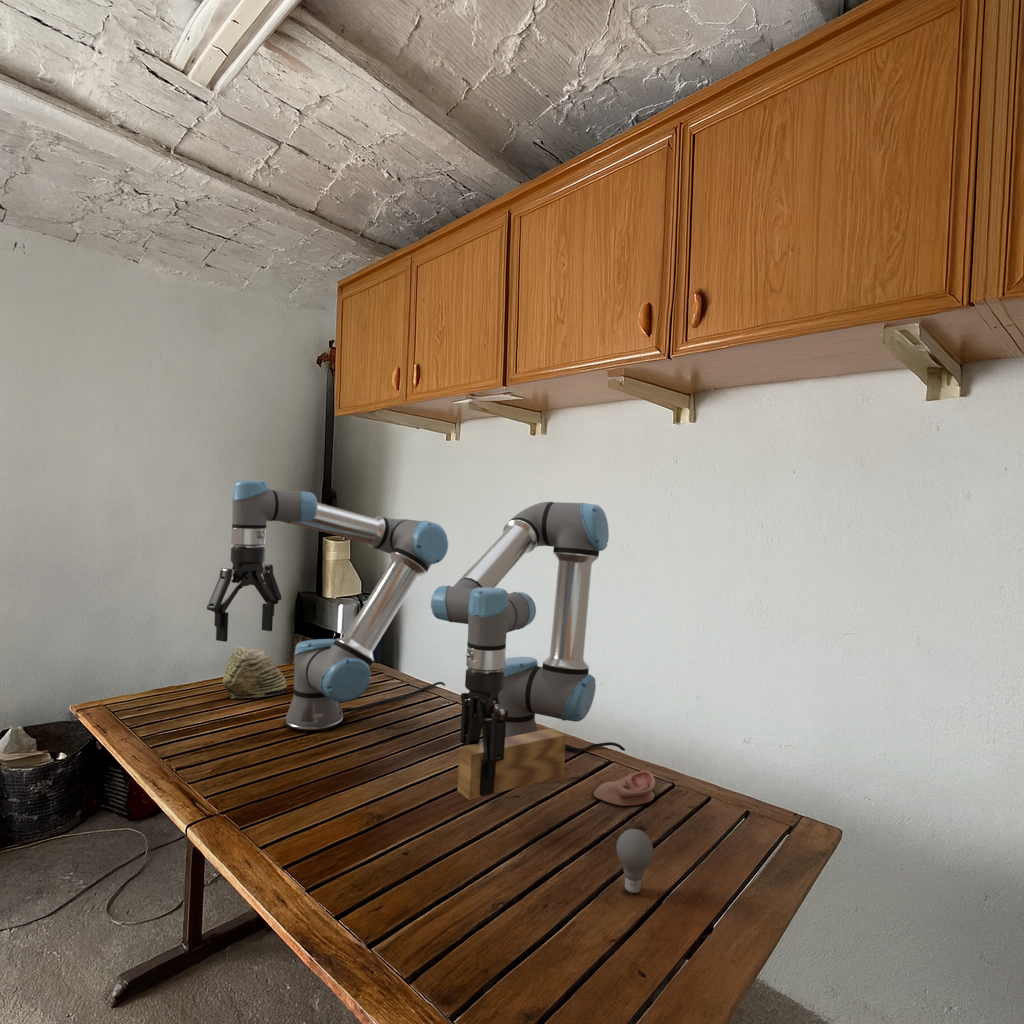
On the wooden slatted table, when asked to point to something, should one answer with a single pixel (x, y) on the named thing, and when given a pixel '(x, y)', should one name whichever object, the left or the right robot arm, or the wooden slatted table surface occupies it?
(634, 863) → the light bulb
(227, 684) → the fossil
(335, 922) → the wooden slatted table surface
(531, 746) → the bar
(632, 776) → the anatomical model
